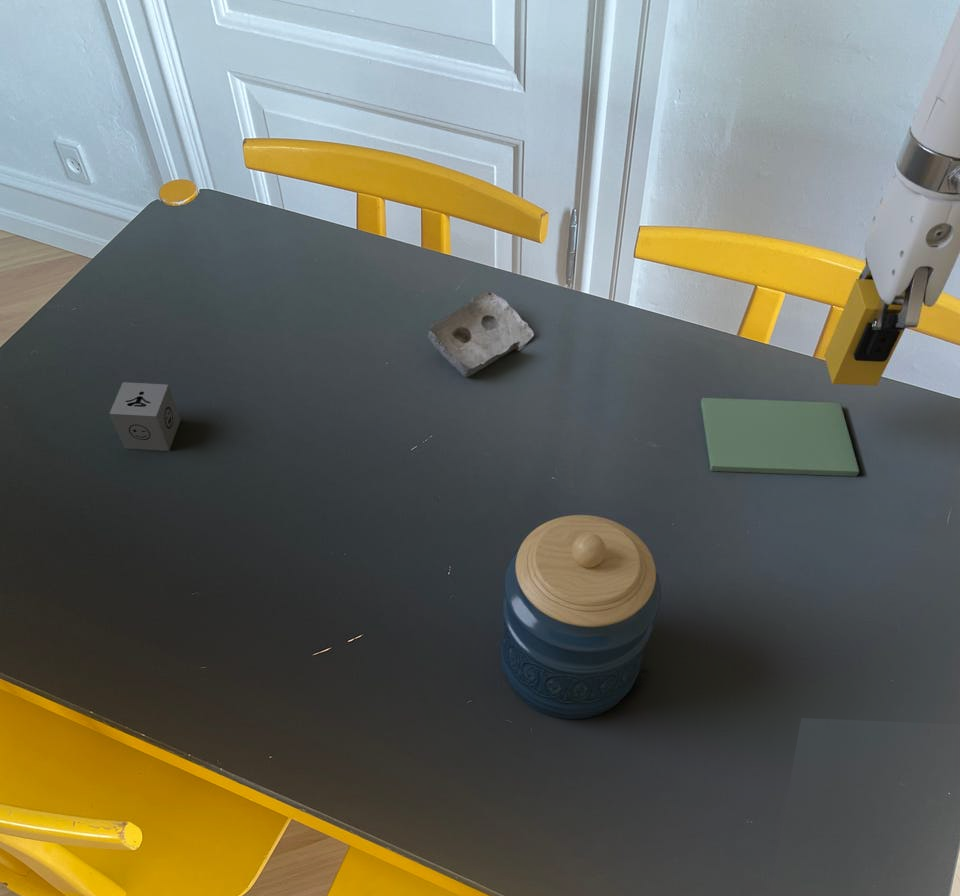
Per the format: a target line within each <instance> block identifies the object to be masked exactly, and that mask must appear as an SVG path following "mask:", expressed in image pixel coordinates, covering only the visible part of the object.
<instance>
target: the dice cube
mask: <svg viewBox="0 0 960 896" xmlns="http://www.w3.org/2000/svg"><path fill="white" fill-rule="evenodd" d="M176 405H177V404H176V402H175V399H174V396H173V394H172V391H171V388H170V385H169V384H167V383H166V384H163V383H145V382H129V381H128V382H127V381H126V382H125V381H123V382H122V383H121V385H120V387H119V390H118V392H117V394H116V397H115V400H114V402H113V404H112V406H111V409H110V411H109V413H108V414H109V416H110V419H111V421H112V424H113V426H114V428H115V430H116V433H117V435H118V437H119V440H120V442H121V444H122V447H123V449H125V450H142V451H143V450H144V451H161V452H170V450H171V448H172V444H173V441H174V440H175V436H176V433H177V431H178V428H179V425H180V422H181V417H180V414H179V411H178V409H177V406H176Z"/></svg>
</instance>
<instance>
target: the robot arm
mask: <svg viewBox="0 0 960 896" xmlns="http://www.w3.org/2000/svg"><path fill="white" fill-rule="evenodd" d="M893 173H894V174H893V175H892V177H891V179H890V181H889V183H888V185H887V187H886V189H885V192H884V193H883V194H882V197H881V200H880V201H879V203H878V207H877V209H876V211H875V214H874V215H873V218H872V221H871V223H870V225H869V228H868V231H867V234H866V237H865V240H864V255H865V265H864V267H863V269H862V271H861V273H860V274H859V276H858V279H868V280H874V283H875V285H876V288H877V291H878V293H879V296H880V301H879V304H878V307H877V310H876V313H875V316H874V319H873V323H868V324H867V326H866V328H865V330H864V332H863V335H862V337H861V339H860V341H859V344H858V346H857V348H856V350H855V352H854V358H855V360H856V361H878V362H883V361H886V360H887V358H888V356H889V354H890V352H891V350H892V348H893V346H894V344H895V342H896V340H897V338H898V336H899V334H900V332H901V331H904V332H905V329H909V328H911V329H914V328H915V329H916V328H917V327H918V325H919V323H920V320H921V319H920V318H921V315H922V313H921V312H922V307H923V305H924V307H929V308H931V307H933V306H935V304H937V301H939V299H940V297H941V294H942V292H943V290H944V289H945V286H946V284H947V282H948V280H949V279H950V276H951V273H952V271H953V269H954V268H955V265H956V262H957V260H958V258H959V255H960V6H959V7H958V8H957V12H956V14H955V16H954V18H953V20H952V24H951V26H950V27H949V30H948V33H947V35H946V38H945V40H944V43H943V45H942V47H941V50H940V53H939V55H938V57H937V60H936V62H935V65H934V68H933V70H932V71H931V75H930V77H929V79H928V82H927V84H926V87H925V89H924V92H923V94H922V97H921V99H920V101H919V104H918V106H917V109H916V112H915V114H914V116H913V119H912V120H911V124H910V126H909V128H908V131H907V133H906V135H905V138H904V141H903V143H902V146H901V148H900V151H899V153H898V155H897V158H896V160H895V163H894V165H893ZM903 291H905V294H901V293H902V292H903ZM889 305H902V307H901V310H900V313H891V314H888V315H886V314H887V311H888V308H889Z"/></svg>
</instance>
